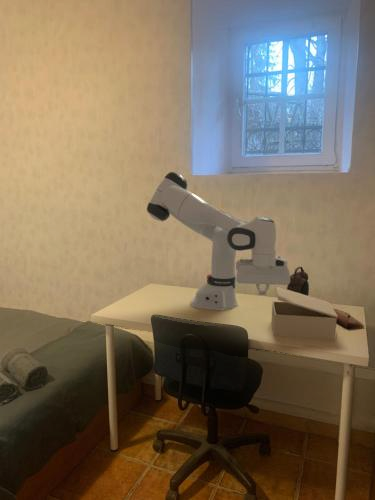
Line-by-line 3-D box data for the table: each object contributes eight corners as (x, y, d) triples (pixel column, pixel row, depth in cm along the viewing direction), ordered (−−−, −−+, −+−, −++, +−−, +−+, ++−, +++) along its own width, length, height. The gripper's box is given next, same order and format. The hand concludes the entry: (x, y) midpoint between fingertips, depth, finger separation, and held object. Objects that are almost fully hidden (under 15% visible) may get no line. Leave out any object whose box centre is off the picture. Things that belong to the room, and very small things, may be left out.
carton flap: (278, 300, 141) (278, 298, 140) (275, 287, 156) (275, 286, 156) (337, 317, 138) (337, 316, 138) (328, 303, 154) (328, 302, 154)
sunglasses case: (366, 325, 153) (358, 314, 151) (353, 337, 153) (345, 325, 151) (340, 310, 171) (332, 300, 169) (328, 320, 170) (320, 310, 169)
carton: (273, 339, 144) (274, 314, 142) (271, 324, 159) (272, 301, 158) (334, 343, 140) (336, 318, 139) (326, 327, 156) (327, 303, 154)
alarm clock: (299, 315, 170) (301, 271, 166) (283, 311, 174) (286, 269, 170) (310, 306, 181) (312, 265, 178) (295, 303, 186) (297, 263, 182)
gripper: (235, 260, 143) (235, 296, 146) (291, 262, 140) (289, 298, 143) (236, 257, 150) (235, 291, 152) (289, 258, 146) (288, 293, 149)
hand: (262, 294), depth 147 cm, fingers closed
